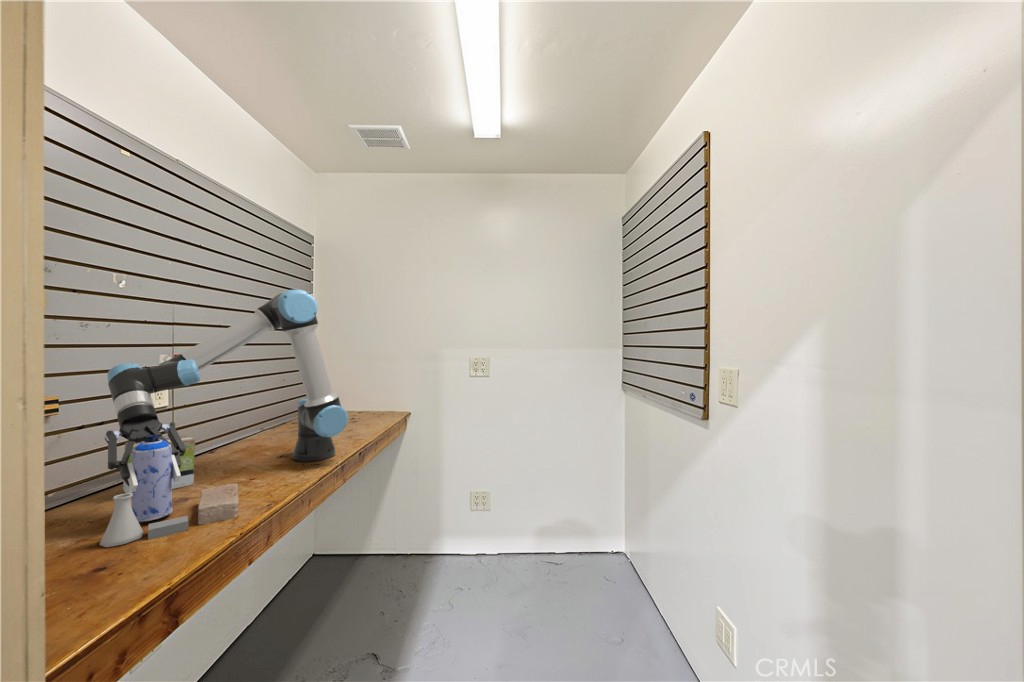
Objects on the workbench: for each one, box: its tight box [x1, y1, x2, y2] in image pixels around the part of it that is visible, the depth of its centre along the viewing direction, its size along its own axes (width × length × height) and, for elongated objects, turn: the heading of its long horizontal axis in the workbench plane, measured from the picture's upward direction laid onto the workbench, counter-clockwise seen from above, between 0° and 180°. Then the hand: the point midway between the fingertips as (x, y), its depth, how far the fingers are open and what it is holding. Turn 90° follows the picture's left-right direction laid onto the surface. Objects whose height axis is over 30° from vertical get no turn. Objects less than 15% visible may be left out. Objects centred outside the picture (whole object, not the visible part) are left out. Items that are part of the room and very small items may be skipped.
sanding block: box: [147, 515, 189, 541], centre depth 93 cm, size 7×4×2 cm, turn 131°
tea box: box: [122, 434, 196, 499], centre depth 122 cm, size 15×10×15 cm, turn 141°
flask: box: [99, 493, 145, 548], centre depth 89 cm, size 7×7×10 cm
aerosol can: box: [131, 435, 174, 523], centre depth 100 cm, size 8×8×20 cm
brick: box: [197, 483, 240, 526], centre depth 105 cm, size 17×8×5 cm, turn 36°
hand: (156, 483), depth 98 cm, fingers closed on aerosol can, 7 cm apart
